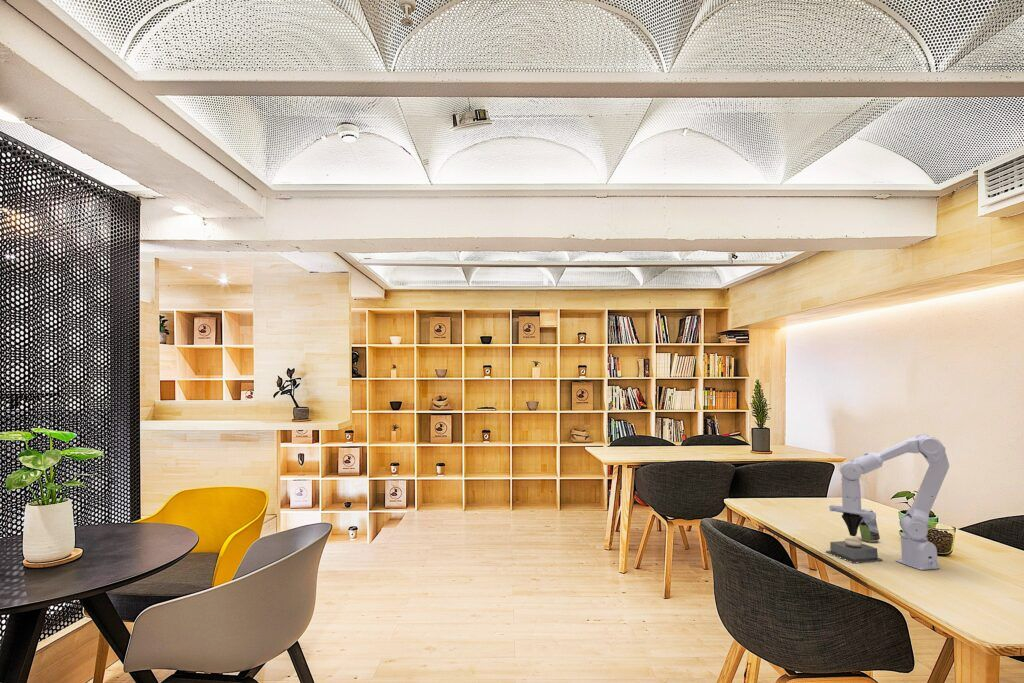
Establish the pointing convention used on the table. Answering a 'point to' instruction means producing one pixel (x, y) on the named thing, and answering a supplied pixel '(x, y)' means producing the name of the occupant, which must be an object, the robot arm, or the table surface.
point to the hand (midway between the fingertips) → (853, 535)
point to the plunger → (853, 542)
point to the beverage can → (869, 529)
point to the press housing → (854, 552)
